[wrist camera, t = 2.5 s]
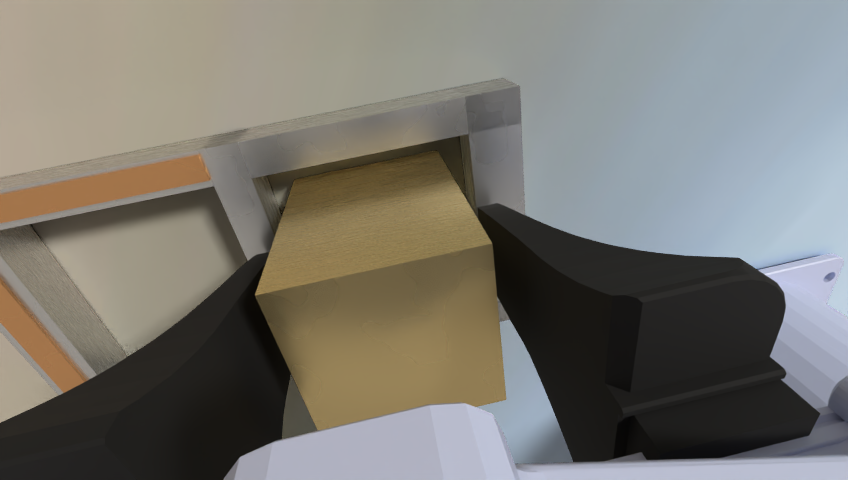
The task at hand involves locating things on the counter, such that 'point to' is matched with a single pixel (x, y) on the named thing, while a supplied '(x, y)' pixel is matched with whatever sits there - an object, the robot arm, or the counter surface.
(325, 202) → the tan wooden block
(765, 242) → the counter surface
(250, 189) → the grey rectangular frame
